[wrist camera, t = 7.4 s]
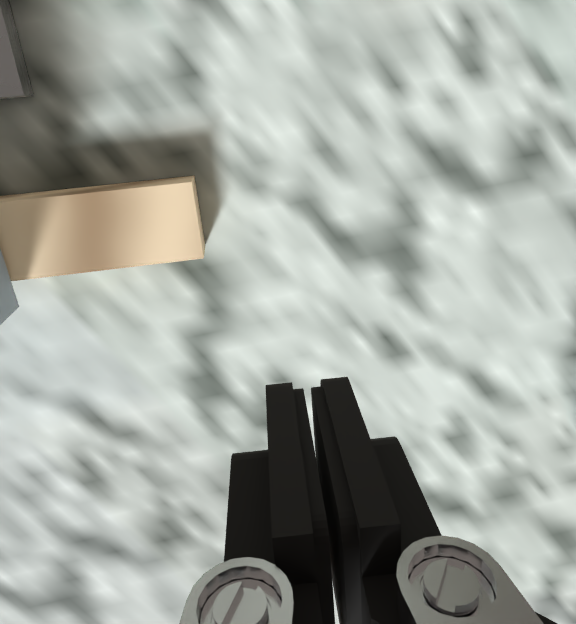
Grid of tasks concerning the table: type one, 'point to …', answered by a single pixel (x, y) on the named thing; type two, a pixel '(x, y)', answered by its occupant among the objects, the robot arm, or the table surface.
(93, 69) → the table surface
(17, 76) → the flange plate
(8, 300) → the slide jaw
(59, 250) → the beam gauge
